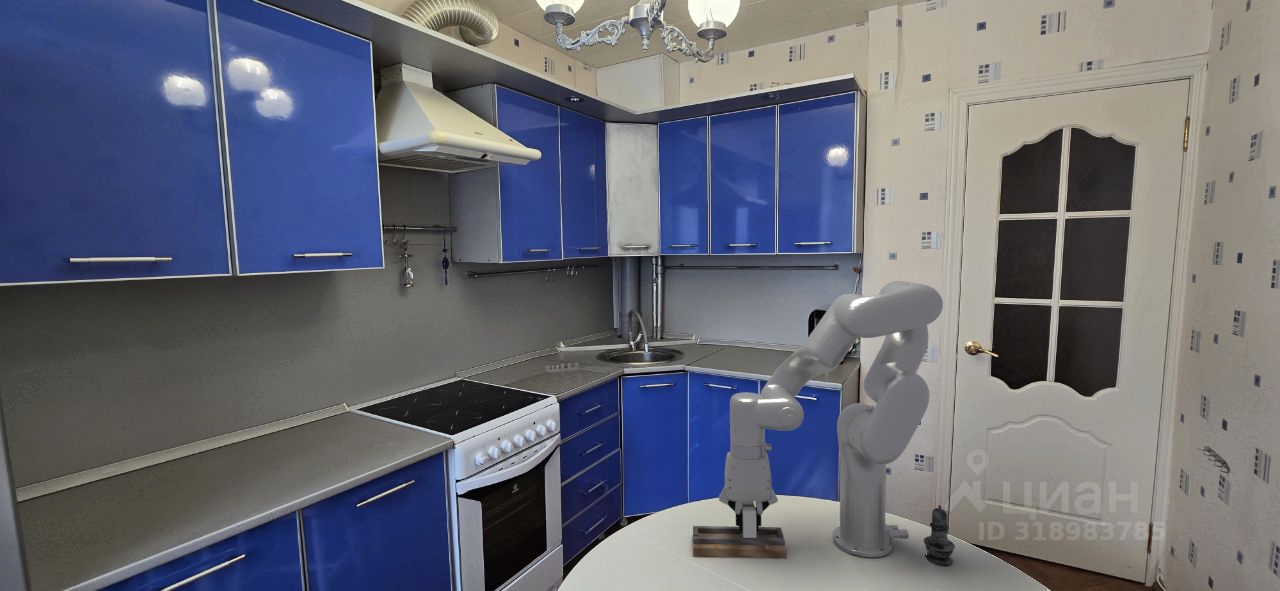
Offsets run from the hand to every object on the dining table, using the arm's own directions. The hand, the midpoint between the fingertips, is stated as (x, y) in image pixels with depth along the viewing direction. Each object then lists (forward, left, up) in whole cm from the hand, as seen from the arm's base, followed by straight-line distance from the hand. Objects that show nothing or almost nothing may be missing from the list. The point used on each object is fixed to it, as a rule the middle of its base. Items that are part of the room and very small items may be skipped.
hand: (748, 528), depth 125 cm
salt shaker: (-40, +3, -5) cm, 40 cm away
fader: (0, 0, -2) cm, 2 cm away
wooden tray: (+2, 0, -4) cm, 5 cm away
